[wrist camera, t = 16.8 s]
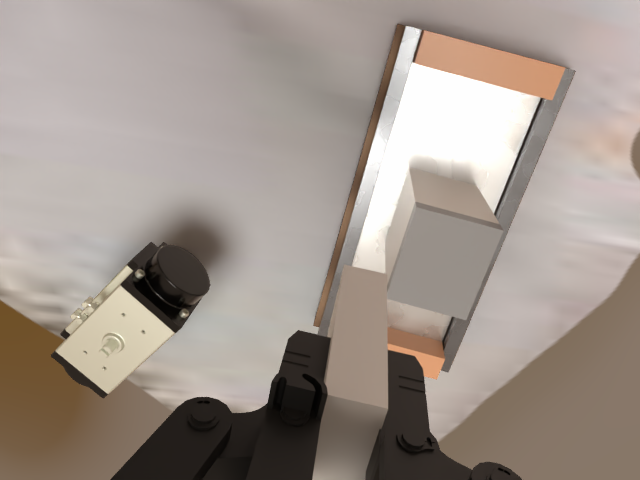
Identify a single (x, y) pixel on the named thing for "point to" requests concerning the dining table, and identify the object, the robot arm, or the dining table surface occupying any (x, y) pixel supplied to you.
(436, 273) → the din module
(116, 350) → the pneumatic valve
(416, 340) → the rail board
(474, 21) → the dining table surface
